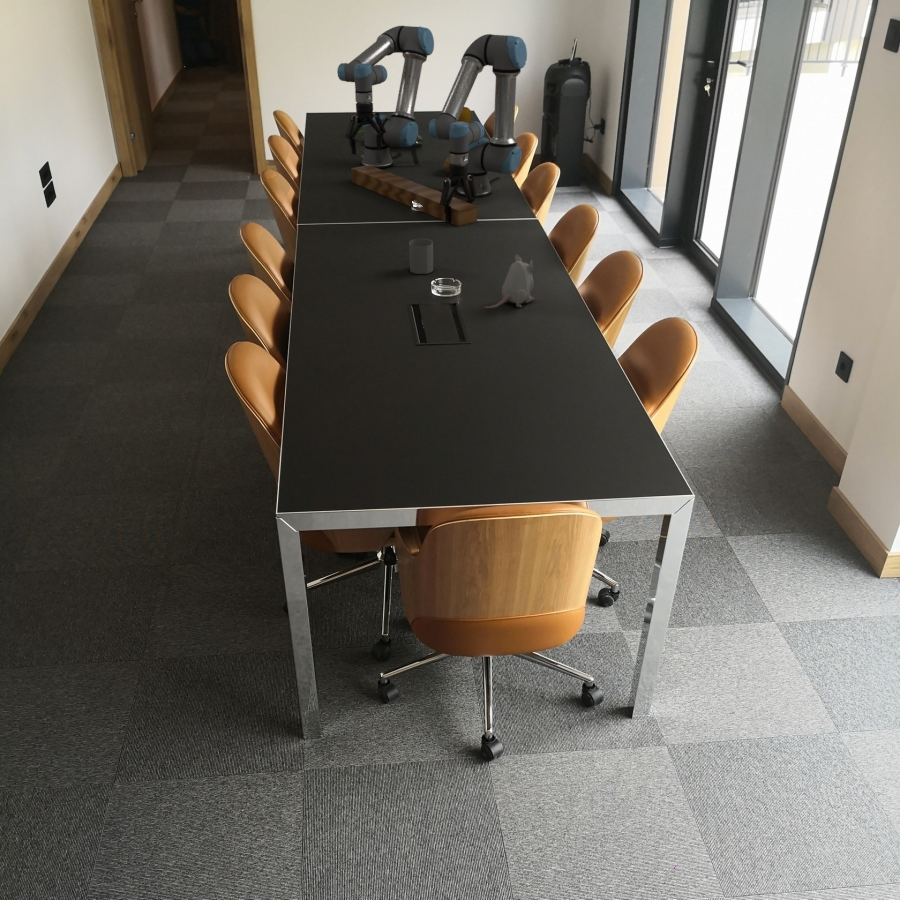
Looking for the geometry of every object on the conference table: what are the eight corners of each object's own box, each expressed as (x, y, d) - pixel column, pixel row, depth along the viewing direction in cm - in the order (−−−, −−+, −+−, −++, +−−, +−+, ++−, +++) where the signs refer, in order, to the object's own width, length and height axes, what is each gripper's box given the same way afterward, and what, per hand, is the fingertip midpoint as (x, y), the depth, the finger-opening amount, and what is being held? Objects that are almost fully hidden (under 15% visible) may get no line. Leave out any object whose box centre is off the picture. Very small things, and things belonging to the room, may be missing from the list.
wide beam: (352, 182, 402) (351, 168, 399) (369, 178, 407) (369, 164, 404) (458, 226, 349) (458, 210, 345) (477, 221, 354) (477, 206, 350)
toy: (541, 300, 285) (543, 256, 277) (494, 322, 270) (495, 276, 262) (519, 293, 290) (521, 249, 282) (472, 313, 276) (473, 269, 268)
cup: (409, 265, 311) (408, 238, 306) (432, 265, 312) (431, 238, 307) (410, 274, 304) (409, 246, 299) (433, 273, 305) (433, 246, 299)
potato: (462, 169, 421) (462, 152, 416) (464, 177, 409) (465, 160, 405) (442, 169, 420) (442, 152, 416) (444, 177, 408) (444, 160, 404)
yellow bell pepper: (471, 132, 486) (471, 108, 479) (451, 132, 486) (451, 108, 479) (470, 128, 495) (471, 104, 488) (452, 128, 495) (452, 104, 488)
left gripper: (344, 107, 372) (347, 157, 384) (392, 100, 385) (394, 149, 397) (335, 104, 377) (338, 154, 389) (383, 97, 390) (384, 146, 402)
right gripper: (442, 170, 335) (442, 226, 347) (486, 161, 347) (485, 216, 359) (430, 166, 340) (431, 222, 352) (474, 157, 352) (473, 211, 364)
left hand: (366, 152), depth 393 cm, fingers open, 13 cm apart
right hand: (458, 219), depth 355 cm, fingers closed on wide beam, 10 cm apart
